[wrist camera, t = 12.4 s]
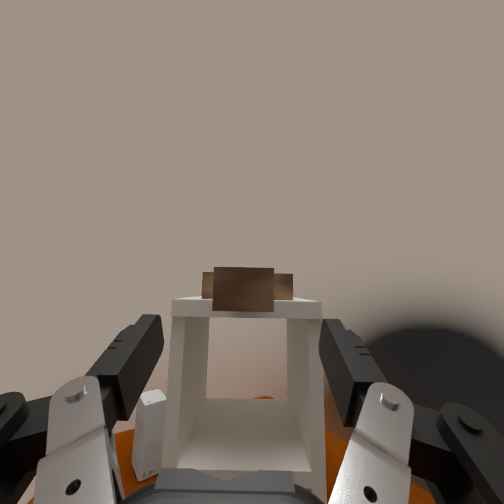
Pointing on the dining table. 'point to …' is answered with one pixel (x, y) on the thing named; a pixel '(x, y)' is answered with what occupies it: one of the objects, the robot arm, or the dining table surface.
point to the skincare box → (149, 434)
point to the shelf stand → (246, 402)
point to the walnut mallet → (246, 288)
